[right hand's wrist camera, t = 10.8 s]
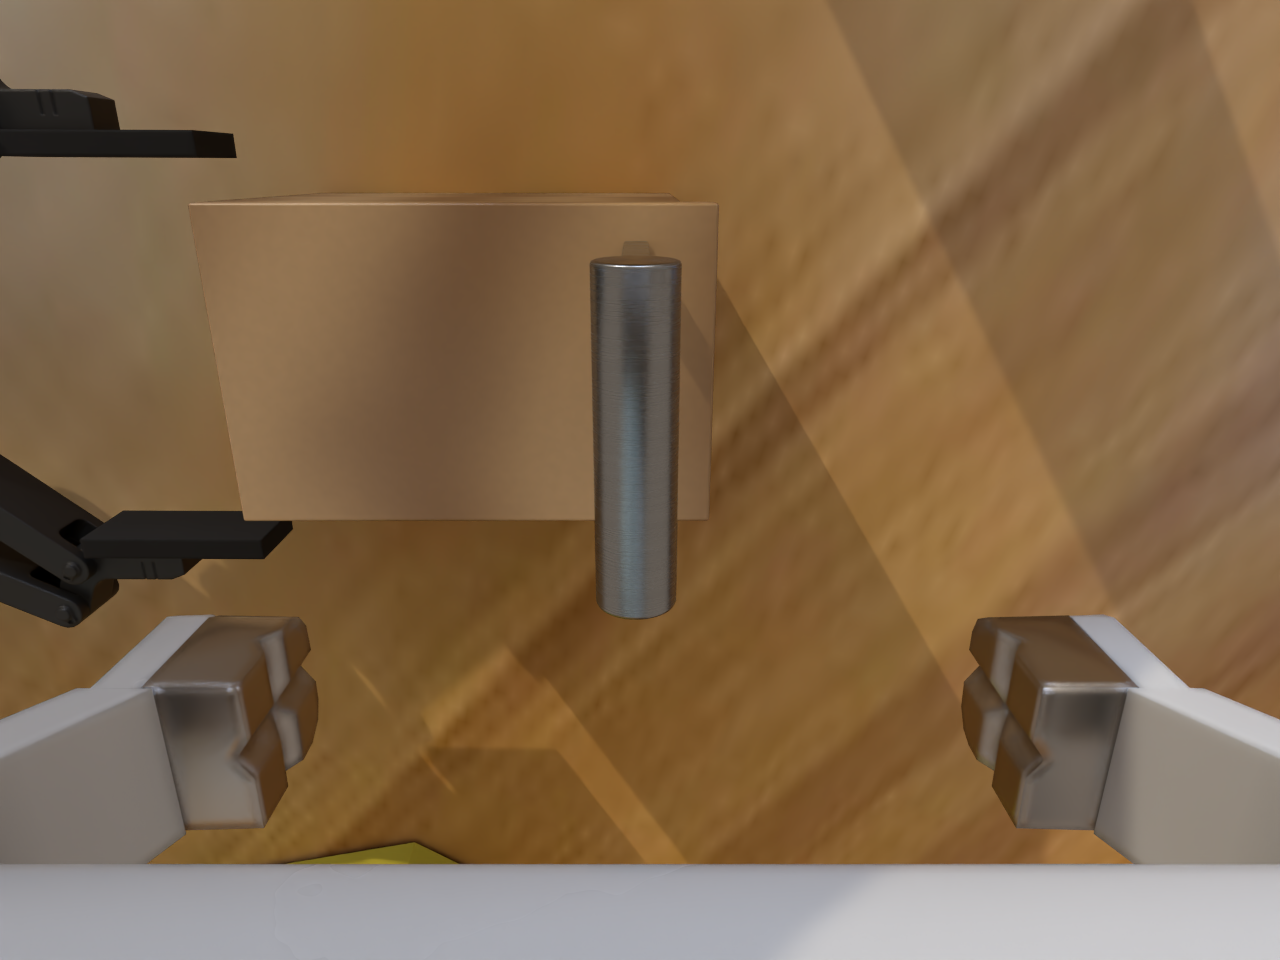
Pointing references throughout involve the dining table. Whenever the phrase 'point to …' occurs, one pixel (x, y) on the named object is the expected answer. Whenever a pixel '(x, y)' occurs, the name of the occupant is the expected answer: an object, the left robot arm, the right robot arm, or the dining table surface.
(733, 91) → the dining table surface
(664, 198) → the chest
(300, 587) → the dining table surface
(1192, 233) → the dining table surface
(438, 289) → the lid
